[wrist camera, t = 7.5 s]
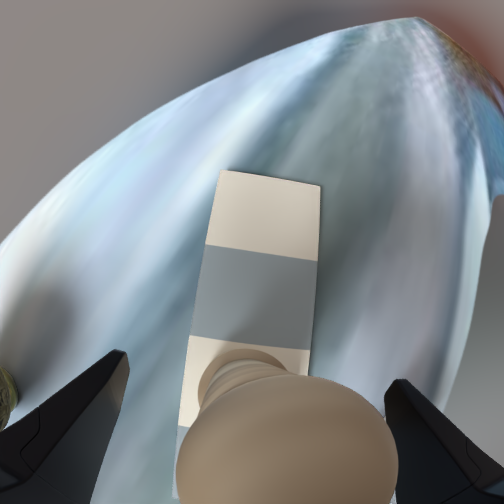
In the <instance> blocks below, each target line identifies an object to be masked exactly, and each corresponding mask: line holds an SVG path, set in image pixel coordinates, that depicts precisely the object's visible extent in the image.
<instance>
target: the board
mask: <svg viewBox="0 0 504 504" xmlns="http://www.w3.org/2000/svg"><path fill="white" fill-rule="evenodd" d="M319 218H320V186H316V185H311V184H305V183H300V182H295V181H290V180H284V179H278V178H273V177H267V176H260V175H254V174H248V173H241V172H234V171H227V170H220V175H219V179H218V184H217V188H216V193H215V198H214V202H213V207H212V212H211V217H210V222H209V227H208V232H207V237H206V243H205V248H204V253H203V259H202V264H201V270H200V275H199V281H198V287H197V293H196V299H195V305H194V311H193V317H192V323H191V330H190V336H189V343H188V350H187V357H186V364H185V372H184V379H183V387H182V395H181V404H180V412H179V421H178V431H177V441H176V451H175V463H174V475H173V489H172V498H175V499H179V497H178V492H177V485H176V478H175V477H176V463H177V458H178V454H179V449H180V447H181V444H182V442H183V439H184V437H185V435H186V433H187V432H188V430H189V428H190V427H191V425H192V424H193V422H194V421H195V420H196V418H197V416H198V413H199V410H200V407H199V403H198V385H199V381H200V379H201V376H202V374H203V373H204V371H205V369H206V368H207V367H208V365H209V364H210V363H211V362H212V361H213V360H214V359H215V358H217V357H218V356H220V355H221V354H223V353H225V352H228V351H231V350H235V349H254V350H259V351H262V352H265V353H267V354H269V355H271V356H273V357H274V358H276V359H277V360H278V361H280V362H281V363H282V364H283V366H284V367H285V368H286V369H287V371H289V372H291V373H294V374H297V375H306V376H307V374H308V366H309V357H310V348H311V339H312V328H313V318H314V306H315V293H316V279H317V263H318V244H319Z"/></svg>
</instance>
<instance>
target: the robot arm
mask: <svg viewBox="0 0 504 504" xmlns="http://www.w3.org/2000/svg"><path fill="white" fill-rule="evenodd" d="M129 372H130V368H129V363H128V357H127V353H126V352H125V351H121V350H117V349H114V350H112V351H111V352H109V353H108V354H107V355H105V356H104V357H103V358H101V359H100V360H99V361H97V362H96V363H95V364H93V365H92V366H91V367H89V368H88V369H87V370H85V371H84V372H83V373H81V374H80V375H79V376H77V377H76V378H75V379H73V380H72V381H71V382H70V383H68V384H67V385H66V386H64V387H63V388H62V389H60V390H59V391H58V392H56V393H55V394H54V395H52V396H51V397H50V398H49V399H47V400H46V401H45V402H43V403H42V404H41V405H39V407H37V408H35V409H34V410H33V411H31V412H30V413H29V414H27V415H26V416H24V417H23V418H22V419H20V420H19V421H17V422H16V423H14V424H12V425H11V426H9V427H7V428H6V429H4V430H2V431H1V432H0V504H90V500H91V497H92V494H93V490H94V487H95V484H96V481H97V477H98V474H99V471H100V468H101V465H102V462H103V459H104V456H105V453H106V450H107V447H108V444H109V441H110V439H111V436H112V433H113V430H114V427H115V425H116V422H117V419H118V416H119V413H120V409H121V405H122V401H123V397H124V393H125V389H126V385H127V381H128V377H129ZM384 404H385V416H386V423H387V425H388V427H389V428H390V430H391V433H392V435H393V438H394V440H395V444H396V449H397V454H398V476H397V483H396V487H395V493H396V502H397V504H504V468H503V467H502V466H501V465H499V464H498V463H497V462H496V461H494V460H493V459H492V458H490V457H489V456H488V455H487V454H486V453H484V452H483V451H482V450H481V449H480V448H478V447H477V446H476V445H475V444H474V443H473V442H472V441H471V440H470V439H469V438H468V437H466V436H465V434H463V433H462V432H461V431H460V430H459V429H458V428H457V427H456V426H455V425H454V424H453V423H452V422H451V421H450V420H449V419H448V418H447V417H446V416H445V415H444V414H443V413H442V412H440V411H439V410H438V409H437V408H436V407H435V406H434V405H433V404H432V403H431V402H430V401H429V400H428V399H427V398H426V397H425V396H424V395H422V394H421V393H420V392H419V391H418V390H417V389H416V388H415V387H414V386H413V385H412V384H411V383H410V382H409V381H408V380H406V379H396V380H394V381H393V383H392V384H391V386H390V387H389V388H388V390H387V391H386V393H385V395H384Z"/></svg>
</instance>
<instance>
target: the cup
mask: <svg viewBox="0 0 504 504" xmlns="http://www.w3.org/2000/svg"><path fill="white" fill-rule="evenodd" d="M17 402H18V391H17V387H16V384H15V382H14V380H13V378H12V376H11V375H10V374H9V373H8V372H7V371H6V370H5V369H3V368H2V367H0V432H1V431H2V430H3V429H4V428H5V426H6V425H7V423H8V420H9V417H10V413H11V412H12V411H13V410H14V408H15V407H16V405H17Z"/></svg>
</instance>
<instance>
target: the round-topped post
mask: <svg viewBox="0 0 504 504" xmlns="http://www.w3.org/2000/svg"><path fill="white" fill-rule="evenodd" d="M198 403H199V407H200V410H199V413H198V416H197V418H196V420H195V421H194V422H193V424H192V425H191V427H190V428H189V430H188V432H187V433H186V435H185V437H184V439H183V442H182V444H181V447H180V449H179V454H178V458H177V463H176V477H175V478H176V485H177V492H178V497H179V500H180V503H181V504H389V503H390V501H391V498H392V496H393V494H394V490H395V487H396V483H397V476H398V454H397V449H396V444H395V440H394V438H393V435H392V433H391V430H390V428H389V427H388V425H387V423H386V422H385V420H384V418H383V417H382V415H381V414H380V413H379V412H378V411H377V409H376V408H375V407H374V406H373V405H372V404H370V403H369V402H368V401H367V400H366V399H365V398H363V397H362V396H361V395H360V394H358V393H356V392H355V391H353V390H351V389H350V388H348V387H345V386H343V385H341V384H338V383H336V382H334V381H331V380H327V379H324V378H320V377H313V376H306V375H297V374H294V373H291V372H289V371H287V369H286V368H285V367H284V366H283V364H282V363H281V362H280V361H278V360H277V359H276V358H274V357H273V356H271V355H269V354H267V353H265V352H262V351H259V350H254V349H235V350H231V351H228V352H225V353H223V354H221V355H220V356H218V357H217V358H215V359H214V360H213V361H212V362H211V363H210V364H209V365H208V367H207V368H206V369H205V371H204V373H203V374H202V376H201V379H200V381H199V385H198Z"/></svg>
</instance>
